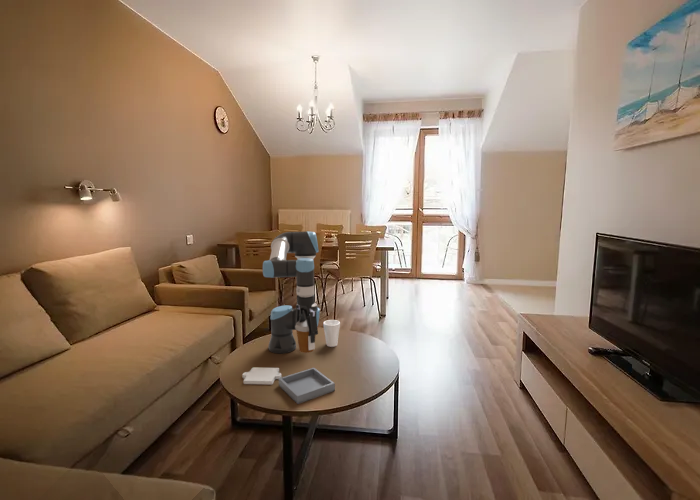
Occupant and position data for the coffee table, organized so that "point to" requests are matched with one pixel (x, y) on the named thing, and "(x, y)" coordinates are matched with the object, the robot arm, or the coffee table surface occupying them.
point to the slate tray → (306, 385)
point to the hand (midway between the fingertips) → (306, 345)
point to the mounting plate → (261, 375)
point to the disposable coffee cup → (303, 336)
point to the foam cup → (331, 332)
